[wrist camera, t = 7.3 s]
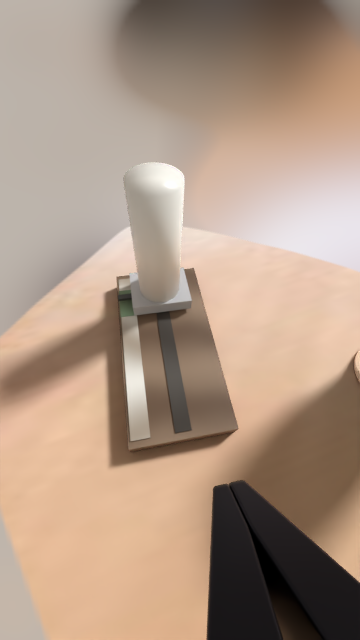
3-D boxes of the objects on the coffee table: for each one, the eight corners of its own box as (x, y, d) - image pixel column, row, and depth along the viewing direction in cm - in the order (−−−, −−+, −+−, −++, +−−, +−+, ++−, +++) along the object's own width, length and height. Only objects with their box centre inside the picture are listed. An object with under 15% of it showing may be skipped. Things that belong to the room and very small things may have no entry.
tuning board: (234, 432, 20) (238, 428, 19) (131, 452, 19) (128, 449, 18) (192, 277, 29) (193, 267, 27) (118, 286, 28) (116, 275, 26)
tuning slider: (190, 308, 24) (204, 195, 15) (119, 317, 23) (86, 204, 14) (182, 275, 26) (190, 158, 17) (117, 283, 26) (86, 164, 16)
